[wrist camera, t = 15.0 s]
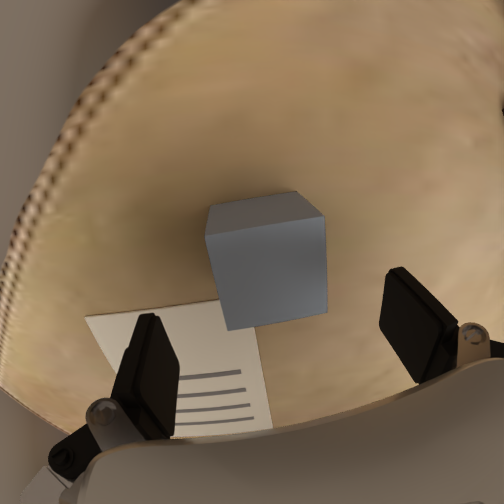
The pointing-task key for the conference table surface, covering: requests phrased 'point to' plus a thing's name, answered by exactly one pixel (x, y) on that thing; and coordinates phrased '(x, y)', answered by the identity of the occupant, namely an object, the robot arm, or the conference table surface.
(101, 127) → the conference table surface
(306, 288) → the cube
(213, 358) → the letter
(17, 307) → the conference table surface
